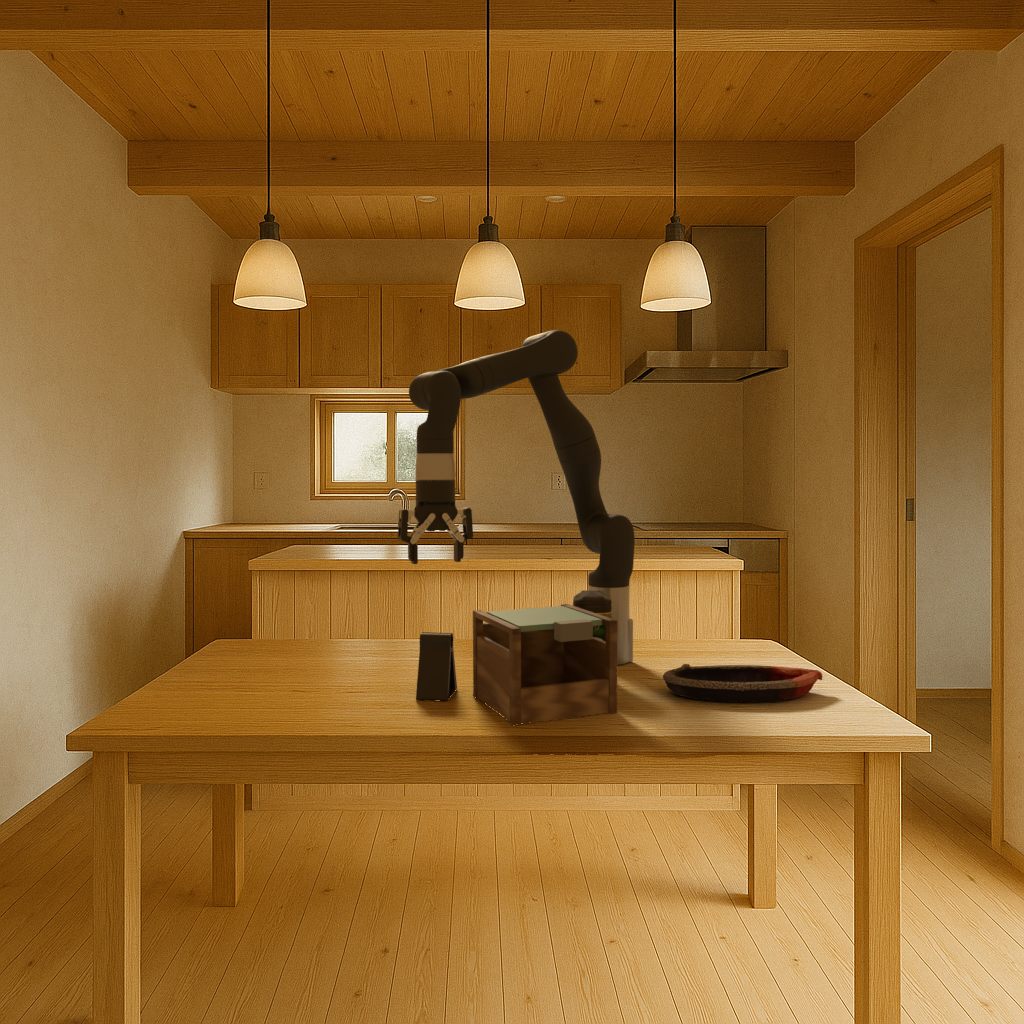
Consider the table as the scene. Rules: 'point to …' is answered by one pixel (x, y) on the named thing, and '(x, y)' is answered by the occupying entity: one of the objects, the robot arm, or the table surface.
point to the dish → (740, 682)
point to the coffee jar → (595, 608)
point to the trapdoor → (552, 621)
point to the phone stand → (436, 667)
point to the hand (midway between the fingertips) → (435, 562)
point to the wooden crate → (543, 671)
